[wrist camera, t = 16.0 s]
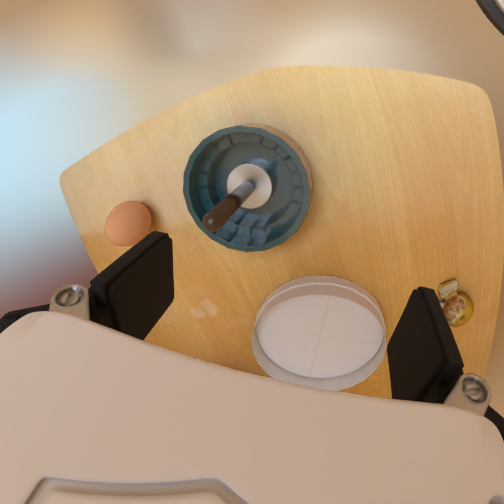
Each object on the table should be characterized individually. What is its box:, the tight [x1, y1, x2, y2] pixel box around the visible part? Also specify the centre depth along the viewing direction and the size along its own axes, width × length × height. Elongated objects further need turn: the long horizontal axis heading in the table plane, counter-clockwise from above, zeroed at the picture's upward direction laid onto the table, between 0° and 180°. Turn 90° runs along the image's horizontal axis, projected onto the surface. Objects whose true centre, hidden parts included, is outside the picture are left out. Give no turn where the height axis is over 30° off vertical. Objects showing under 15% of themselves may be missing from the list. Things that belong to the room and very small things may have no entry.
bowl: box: [183, 124, 313, 252], centre depth 38 cm, size 16×16×6 cm
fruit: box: [439, 280, 474, 327], centre depth 39 cm, size 8×8×4 cm
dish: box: [251, 275, 386, 391], centre depth 46 cm, size 22×22×5 cm
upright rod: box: [202, 161, 275, 232], centre depth 33 cm, size 6×6×16 cm
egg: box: [105, 201, 152, 246], centre depth 43 cm, size 7×7×9 cm
